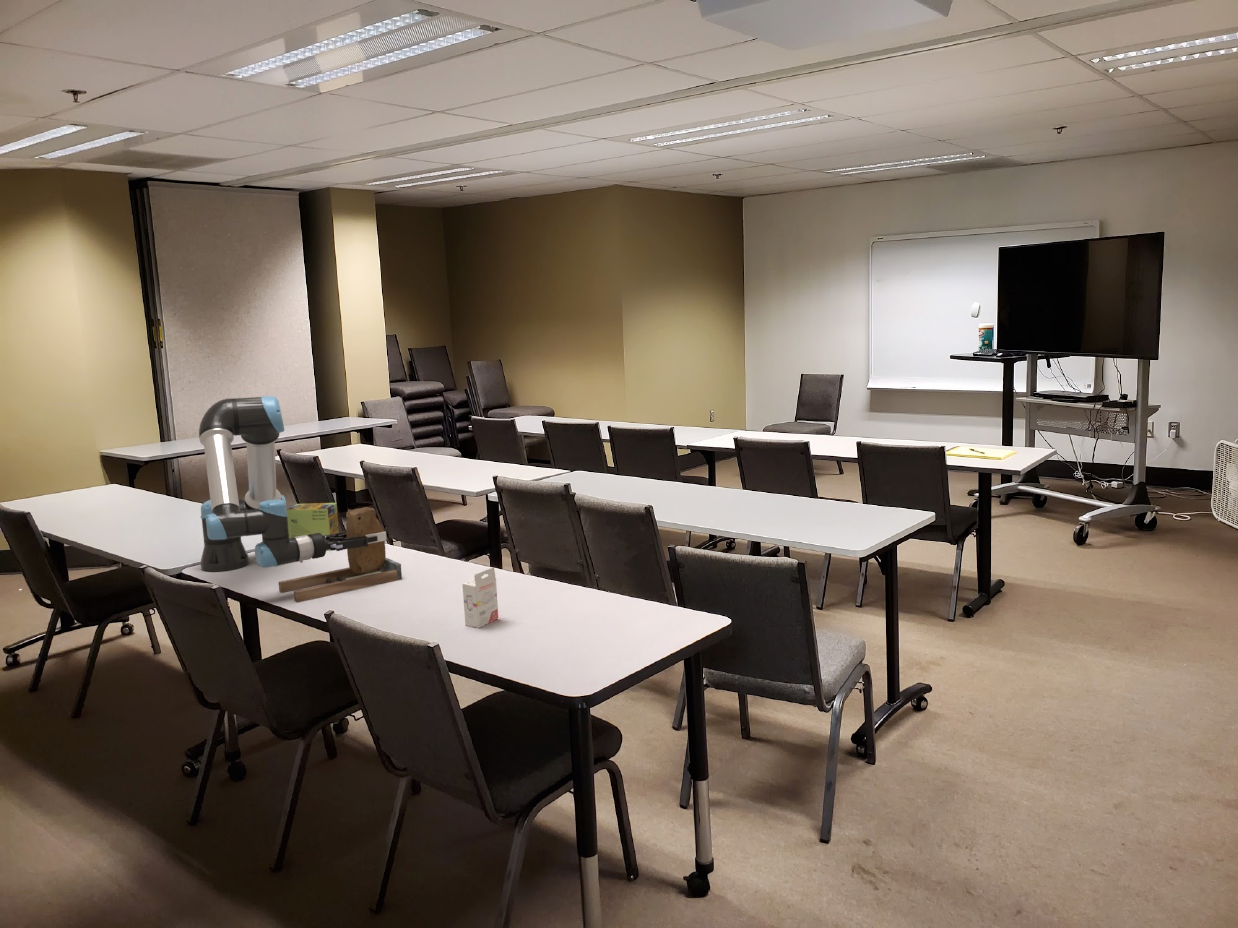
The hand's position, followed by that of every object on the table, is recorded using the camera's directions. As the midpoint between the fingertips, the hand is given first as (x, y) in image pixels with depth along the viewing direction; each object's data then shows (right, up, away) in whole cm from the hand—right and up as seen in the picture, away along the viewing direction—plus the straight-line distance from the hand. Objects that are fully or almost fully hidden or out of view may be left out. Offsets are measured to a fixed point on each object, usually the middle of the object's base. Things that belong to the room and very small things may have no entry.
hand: (380, 533), depth 293 cm
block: (-3, -12, -1) cm, 12 cm away
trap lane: (-10, -16, -6) cm, 20 cm away
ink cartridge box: (+39, -21, -44) cm, 63 cm away
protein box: (-34, -8, +42) cm, 55 cm away
